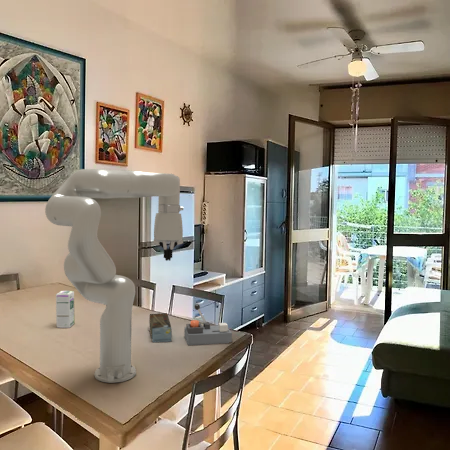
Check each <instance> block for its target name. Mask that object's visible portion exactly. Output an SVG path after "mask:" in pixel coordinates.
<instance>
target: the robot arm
mask: <svg viewBox="0 0 450 450" xmlns="http://www.w3.org/2000/svg"><path fill="white" fill-rule="evenodd" d="M180 189H181V178H180V177H179V176H178V175H175V174H174V173H166V172H165V173H163V172H147V171H137V170H125V169H124V170H123V169H105V168H104V169H103V168H102V169H101V168H96V169H95V168H92V169H91V168H86V169H85V168H81V169H78V170H75V172H73V173H72V174H70V176H69V177H68V178H66V179H65V181H64V182H63V183H62V184H61V185H60V186H59V187H58V189H56V191H55V192H54V193H53V194H52V195H51V197H50V198H48V201H47V203H46V204H45V209H44V210H45V217H46V218H47V221H49V222H50V223H51V224H53V225H56V226H60V227H61V226H63V227H70V228H71V230H70V234H69V237H68V242H67V249H68V252H69V253H68V254H67V255H66V256H65V258H64V261H63V271H64V274H65V276H66V278H67V279H68V280H69V282H70V284H72V286H73V287H74V288H75V289H76V290H77V292H78V293H80V295H81V296H82V297H83V298H84V299H85V300H87V301H89V302H92V303H96V304H101V305H105V309H104V311H103V312H102V314H101V316H100V320H99V367H98V368H97V369H95V371H94V378H95V379H96V380H97V381H99V382H103V383H108V384H109V383H110V384H116V383H122V382H126V381H128V380H131V379H132V378H134V377H135V376H136V373H137V369H136V367H135V366H134V365H132V328H133V327H132V325H133V323H132V319H133V317H132V316H133V306H134V305H133V304H134V301H135V298H136V297H135V295H136V285H135V282H133V280H132V279H130V278H129V277H128V276H127V277H126V276H124V275H120V274H119V275H118V274H117V268H116V265H115V262H114V261H113V259H112V257H111V256H110V255H109V253H108V252H107V251H106V248H104V246H103V244H101V242H100V240H99V238H98V230H99V224H100V221H101V217H102V210H101V206H100V204H99V203H98V201H96V200H95V199H126V198H127V199H128V198H133V199H134V198H135V199H137V198H139V199H140V198H146V197H147V198H151V197H158V201H157V202H158V205H157V206H158V208H157V209H158V212H156V213H155V215H154V216H155V217H154V224H153V225H154V227H153V241H152V242H153V244H154V245H158V246H160V247H161V248H162V249H163V258H164V259H165V260H164V261H166V262H167V261H171V259H173V250H174V249H175V247H176V246H179V245H182V244H184V240H183V235H184V233H183V232H184V230H183V228H184V227H183V217H182V213H180V212H181V211H184V206H181V205H180V198H181V197H180V195H181V194H180V192H181V191H180ZM167 242H169V246H167Z"/></svg>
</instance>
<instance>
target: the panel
mask: <svg viewBox="0 0 450 450" xmlns="http://www.w3.org/2000/svg"><path fill="white" fill-rule="evenodd" d="M202 322H203V321H202ZM206 322H207V323H208V324H204V322H203V325H202V323H201V322H199V327H192V328H190V326H191V323H186V326H184V332H183V334H184V336H183V337H184V338H185V341H186V343H187V345H188V346H200V345H218V344H219V343H221V344H230V343H229V342H233V341H232V340H233V338H232V337H233V333H232V331H231V330H230V329H229V327H228V331H226V332H220V331H219V330H218V324H215V325H214V324H213V325H211V324H210V323H209V321H206Z"/></svg>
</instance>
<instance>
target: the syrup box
mask: <svg viewBox="0 0 450 450" xmlns="http://www.w3.org/2000/svg"><path fill="white" fill-rule="evenodd" d="M55 312H56V313H55V315H56V317H55V318H56V324H55V325H56V328H60V329H69V328H72V327H73V326H74V324H75V291H74V290H60V291H59V292H57V293H56V294H55Z"/></svg>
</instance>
